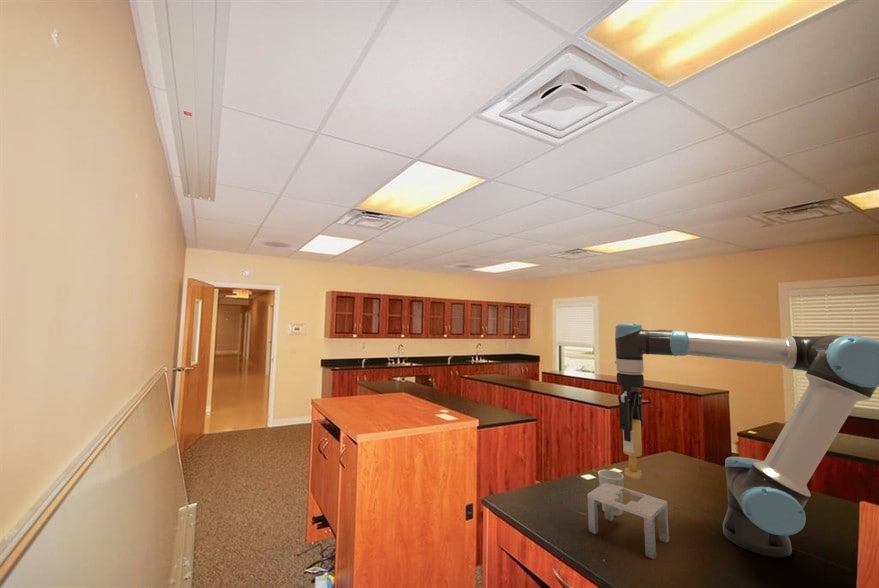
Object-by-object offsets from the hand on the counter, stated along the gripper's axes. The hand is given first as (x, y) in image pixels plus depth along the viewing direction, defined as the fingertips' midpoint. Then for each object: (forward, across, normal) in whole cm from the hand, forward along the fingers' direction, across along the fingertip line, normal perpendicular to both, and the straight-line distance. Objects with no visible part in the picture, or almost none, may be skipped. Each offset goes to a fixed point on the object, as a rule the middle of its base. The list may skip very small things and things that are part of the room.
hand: (632, 449), depth 110 cm
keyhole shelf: (+25, +2, -1) cm, 25 cm away
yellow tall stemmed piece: (+8, 0, 0) cm, 8 cm away
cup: (+25, -10, -11) cm, 29 cm away
